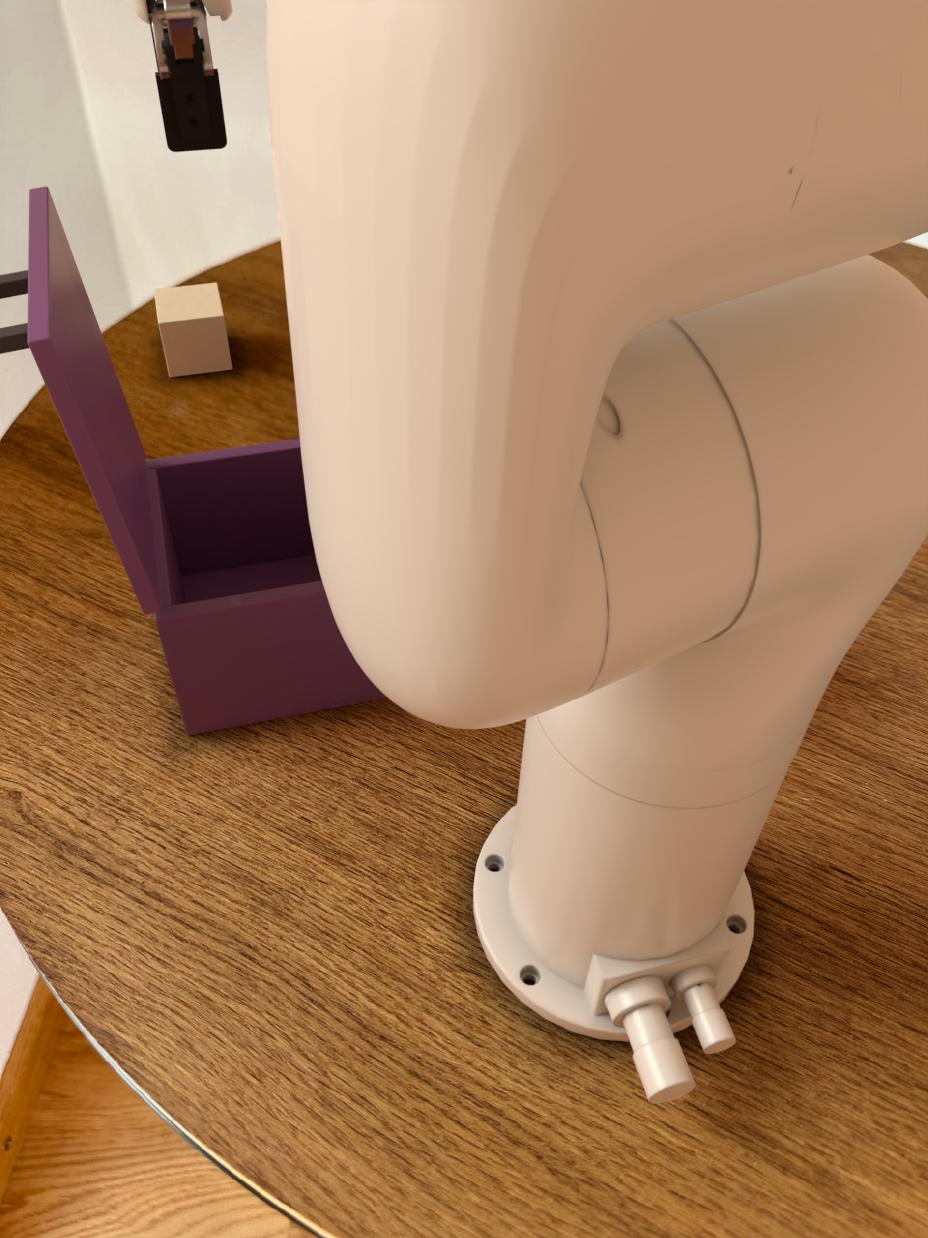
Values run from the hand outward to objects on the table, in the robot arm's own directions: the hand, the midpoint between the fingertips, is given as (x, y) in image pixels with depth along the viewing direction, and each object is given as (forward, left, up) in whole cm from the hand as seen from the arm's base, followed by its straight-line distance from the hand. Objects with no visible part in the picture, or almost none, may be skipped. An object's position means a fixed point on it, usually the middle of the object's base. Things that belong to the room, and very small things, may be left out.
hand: (191, 108), depth 62 cm
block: (+3, +2, -19) cm, 19 cm away
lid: (-25, +6, -2) cm, 25 cm away
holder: (-25, -1, -19) cm, 31 cm away
